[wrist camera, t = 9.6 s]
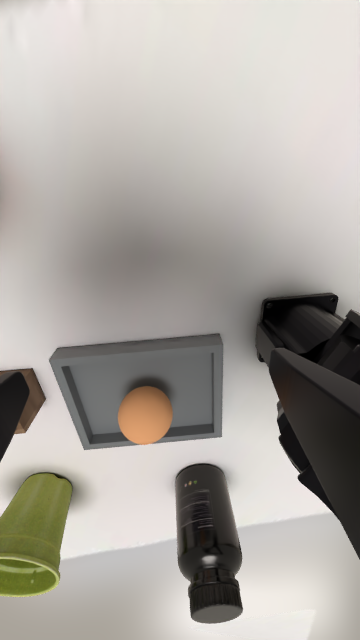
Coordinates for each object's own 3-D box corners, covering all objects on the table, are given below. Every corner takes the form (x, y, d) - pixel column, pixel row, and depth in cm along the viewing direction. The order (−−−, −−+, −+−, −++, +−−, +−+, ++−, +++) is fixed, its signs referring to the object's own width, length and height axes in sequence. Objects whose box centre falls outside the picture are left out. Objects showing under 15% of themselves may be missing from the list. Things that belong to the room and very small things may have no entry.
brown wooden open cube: (32, 368, 23) (7, 399, 19) (45, 399, 24) (25, 433, 21) (-10, 372, 23) (-43, 404, 19) (6, 402, 24) (-21, 437, 21)
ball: (169, 372, 23) (171, 413, 19) (173, 409, 25) (176, 453, 21) (117, 378, 23) (107, 420, 18) (126, 414, 25) (119, 460, 21)
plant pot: (28, 509, 33) (-13, 602, 26) (-4, 469, 29) (-65, 566, 21) (94, 500, 33) (72, 591, 26) (71, 459, 29) (36, 552, 21)
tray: (218, 334, 22) (223, 344, 20) (218, 423, 27) (221, 437, 26) (57, 348, 22) (48, 359, 20) (89, 435, 27) (84, 450, 26)
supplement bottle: (232, 481, 33) (265, 616, 22) (189, 497, 34) (200, 632, 23) (211, 455, 30) (236, 595, 19) (165, 473, 31) (165, 615, 21)
